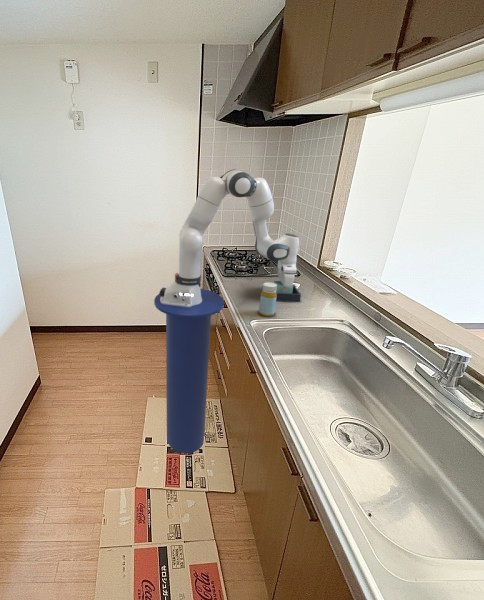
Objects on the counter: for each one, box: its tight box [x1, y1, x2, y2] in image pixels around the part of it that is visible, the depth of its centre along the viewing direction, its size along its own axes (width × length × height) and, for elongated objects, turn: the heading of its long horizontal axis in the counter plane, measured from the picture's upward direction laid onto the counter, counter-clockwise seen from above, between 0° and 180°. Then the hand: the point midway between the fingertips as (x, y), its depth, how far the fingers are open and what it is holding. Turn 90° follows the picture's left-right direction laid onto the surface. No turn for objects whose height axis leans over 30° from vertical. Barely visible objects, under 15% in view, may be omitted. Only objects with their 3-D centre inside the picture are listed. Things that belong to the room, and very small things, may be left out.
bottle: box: [258, 281, 277, 318], centre depth 153 cm, size 7×7×15 cm
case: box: [273, 280, 295, 294], centre depth 175 cm, size 9×5×6 cm, turn 82°
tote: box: [276, 284, 302, 303], centre depth 176 cm, size 15×15×4 cm
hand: (282, 289), depth 175 cm, fingers closed on case, 5 cm apart
